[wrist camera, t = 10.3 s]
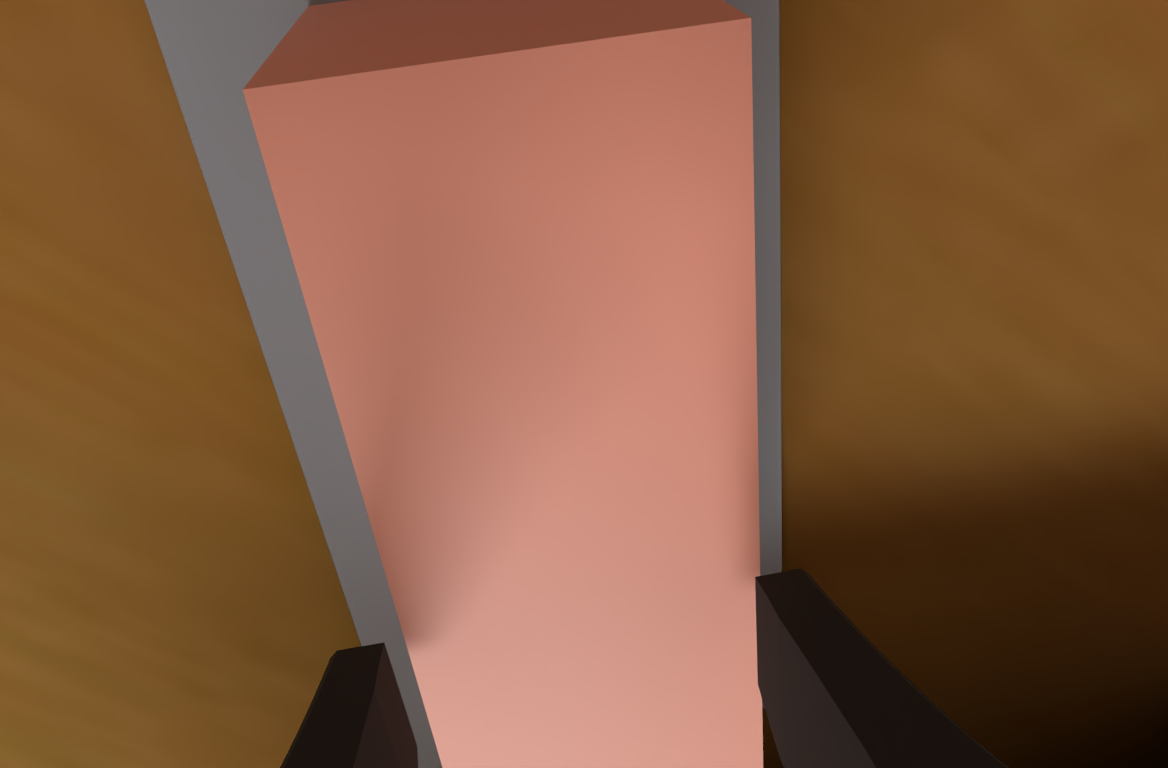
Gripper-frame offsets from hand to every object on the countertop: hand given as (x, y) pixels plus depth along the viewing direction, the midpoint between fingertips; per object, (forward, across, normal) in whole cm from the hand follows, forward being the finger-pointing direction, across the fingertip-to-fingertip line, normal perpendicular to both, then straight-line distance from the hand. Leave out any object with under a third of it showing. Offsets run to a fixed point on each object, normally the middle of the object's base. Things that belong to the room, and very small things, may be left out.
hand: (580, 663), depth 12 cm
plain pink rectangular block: (+6, 0, -1) cm, 6 cm away
